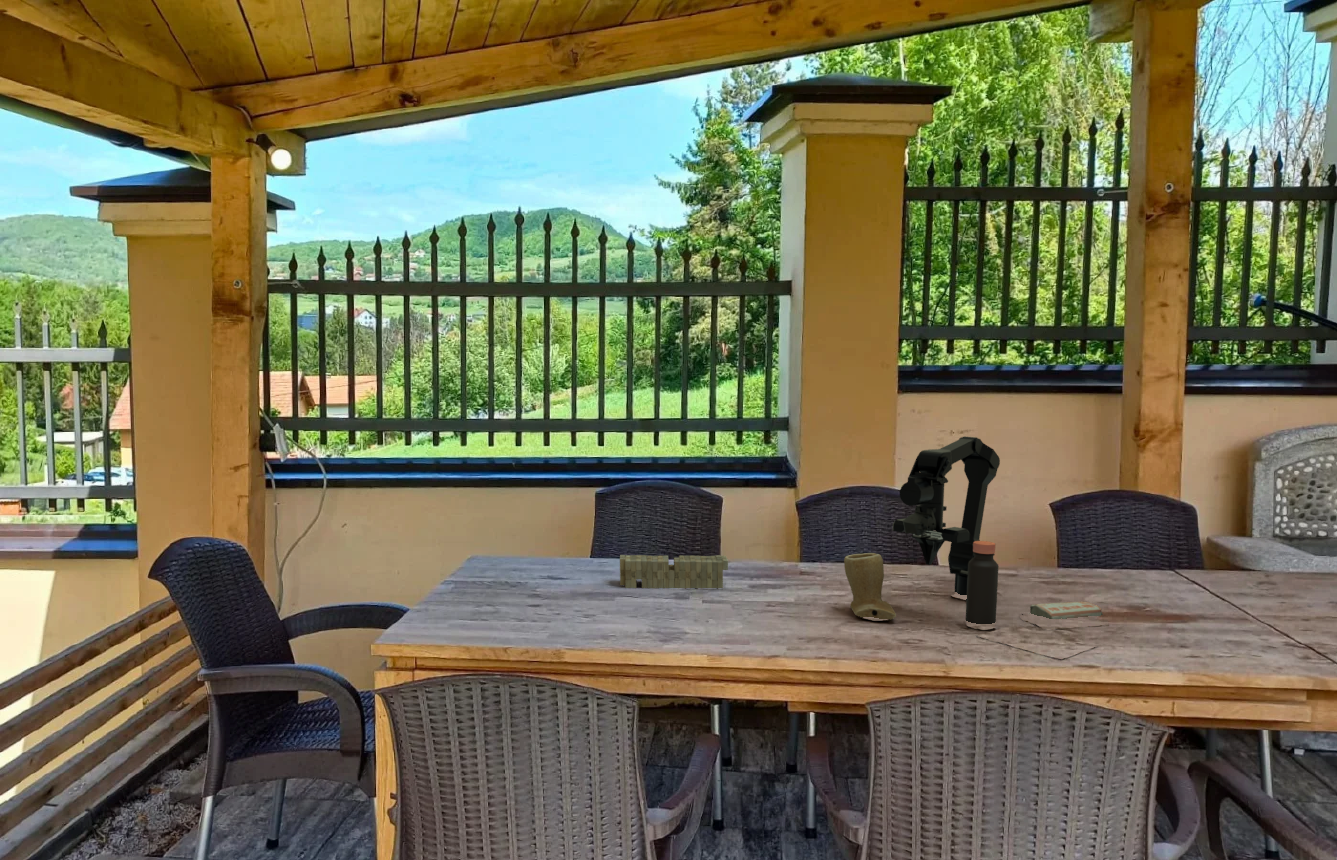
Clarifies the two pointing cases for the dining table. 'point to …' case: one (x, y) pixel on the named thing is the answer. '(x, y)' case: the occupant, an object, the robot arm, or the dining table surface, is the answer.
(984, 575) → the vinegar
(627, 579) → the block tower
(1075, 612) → the packaged product
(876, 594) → the olive green boot
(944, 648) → the dining table surface
